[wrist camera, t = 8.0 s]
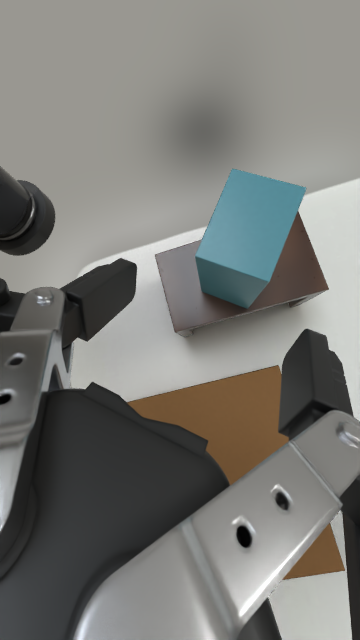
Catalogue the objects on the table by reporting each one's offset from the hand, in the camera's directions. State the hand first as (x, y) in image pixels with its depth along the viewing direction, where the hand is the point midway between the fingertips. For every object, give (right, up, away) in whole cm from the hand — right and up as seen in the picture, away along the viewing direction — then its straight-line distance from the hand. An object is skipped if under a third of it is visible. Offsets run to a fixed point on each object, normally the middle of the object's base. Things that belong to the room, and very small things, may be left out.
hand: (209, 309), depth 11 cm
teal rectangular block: (+4, +4, +10) cm, 12 cm away
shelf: (+5, +3, +17) cm, 18 cm away
